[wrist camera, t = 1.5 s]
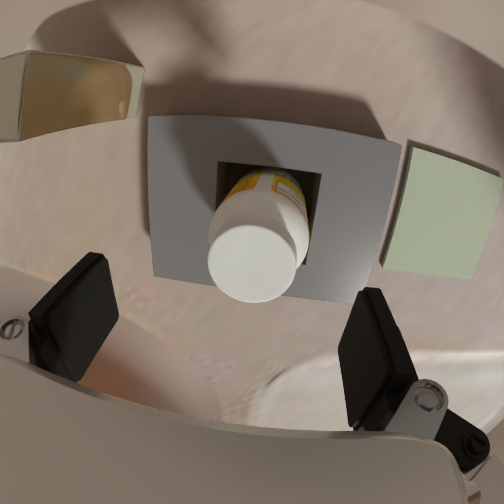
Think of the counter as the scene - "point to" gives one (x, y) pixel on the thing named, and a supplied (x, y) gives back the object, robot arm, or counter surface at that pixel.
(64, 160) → the counter surface
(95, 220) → the counter surface
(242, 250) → the supplement bottle
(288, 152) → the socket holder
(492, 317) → the counter surface
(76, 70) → the skincare box
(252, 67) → the counter surface
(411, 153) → the rubber mat
